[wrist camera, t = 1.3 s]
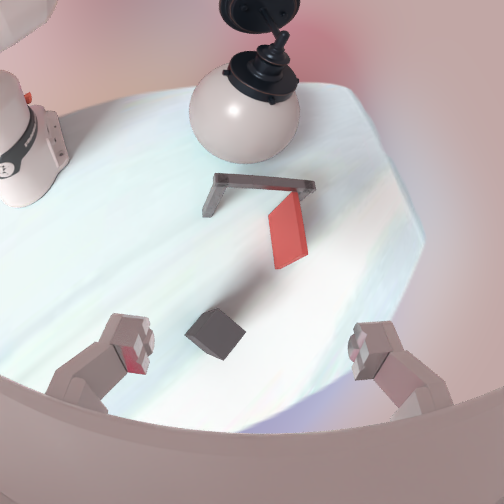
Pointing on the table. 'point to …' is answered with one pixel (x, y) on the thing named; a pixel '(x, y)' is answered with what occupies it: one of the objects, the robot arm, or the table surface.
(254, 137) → the light fixture
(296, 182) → the frame
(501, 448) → the robot arm
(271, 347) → the table surface
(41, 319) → the table surface
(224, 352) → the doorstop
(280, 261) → the red square panel
